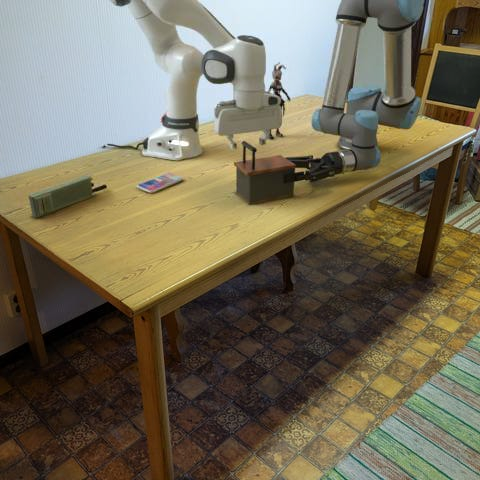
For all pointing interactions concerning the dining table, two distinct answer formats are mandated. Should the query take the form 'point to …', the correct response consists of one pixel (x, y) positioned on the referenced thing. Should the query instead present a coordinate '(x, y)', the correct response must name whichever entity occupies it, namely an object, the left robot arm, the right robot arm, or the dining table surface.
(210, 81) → the left robot arm
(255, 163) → the lid
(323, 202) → the dining table surface
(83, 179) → the handheld radio
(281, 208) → the dining table surface
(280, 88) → the figurine
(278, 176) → the chest
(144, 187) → the smartphone
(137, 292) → the dining table surface
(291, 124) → the dining table surface
